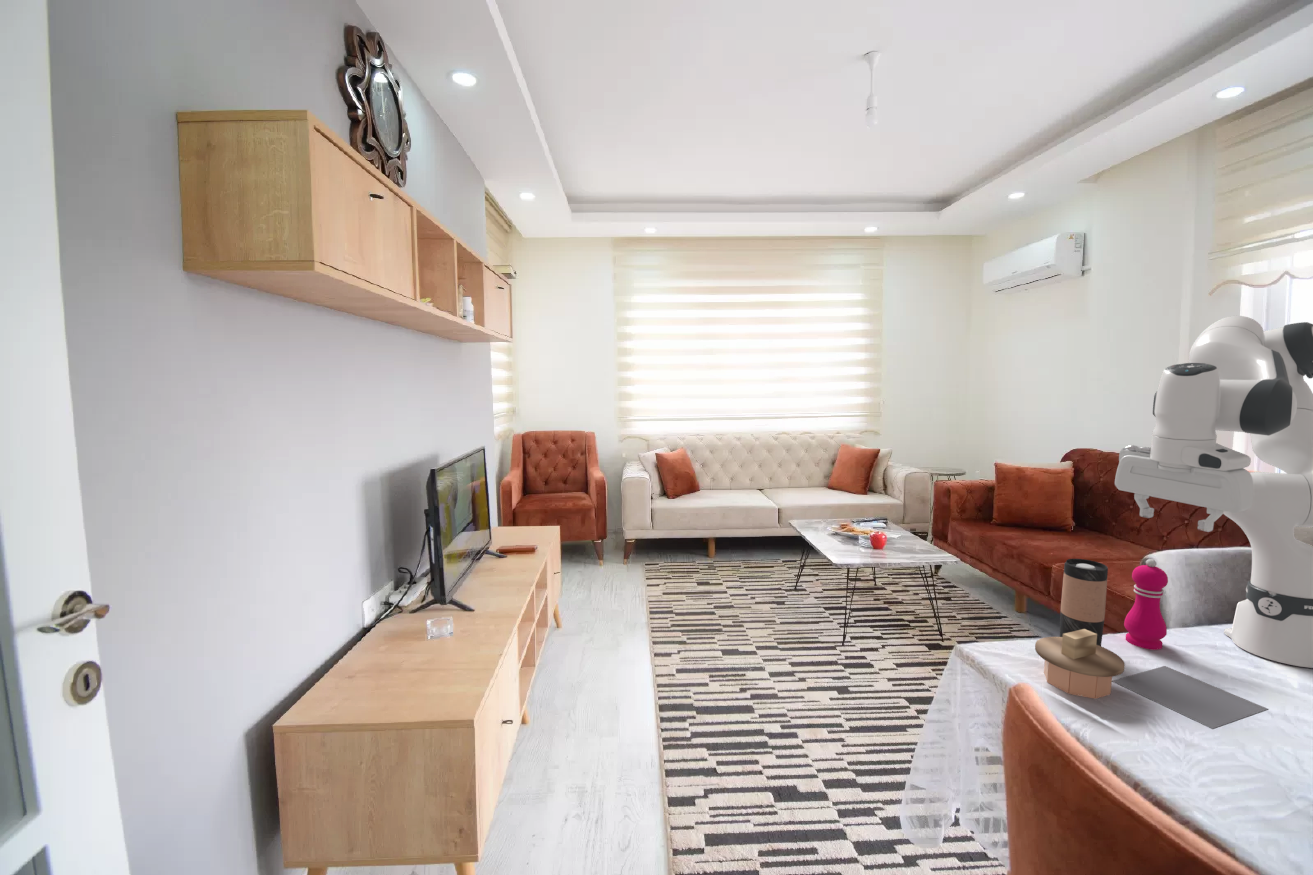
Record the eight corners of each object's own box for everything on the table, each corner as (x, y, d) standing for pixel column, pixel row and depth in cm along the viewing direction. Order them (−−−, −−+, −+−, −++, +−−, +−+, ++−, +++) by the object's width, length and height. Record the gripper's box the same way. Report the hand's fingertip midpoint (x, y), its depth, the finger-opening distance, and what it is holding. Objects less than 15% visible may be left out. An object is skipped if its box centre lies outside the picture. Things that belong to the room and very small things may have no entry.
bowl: (1068, 669, 119) (1070, 641, 118) (1120, 694, 109) (1123, 665, 109) (1032, 678, 115) (1034, 650, 115) (1084, 705, 106) (1086, 675, 105)
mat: (1164, 669, 118) (1164, 665, 118) (1267, 713, 103) (1268, 708, 103) (1111, 684, 113) (1111, 680, 113) (1211, 733, 98) (1212, 728, 98)
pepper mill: (1173, 655, 124) (1182, 565, 121) (1134, 652, 125) (1142, 564, 123) (1151, 639, 131) (1159, 554, 128) (1115, 637, 132) (1122, 553, 130)
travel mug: (1110, 661, 122) (1118, 570, 119) (1074, 661, 122) (1081, 570, 119) (1083, 643, 129) (1090, 558, 127) (1049, 644, 129) (1055, 558, 127)
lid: (1067, 635, 120) (1069, 613, 120) (1142, 668, 107) (1144, 644, 107) (1018, 647, 116) (1019, 624, 115) (1090, 682, 103) (1092, 657, 102)
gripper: (1110, 445, 115) (1104, 511, 118) (1241, 463, 96) (1231, 542, 98) (1131, 442, 117) (1125, 507, 120) (1263, 459, 98) (1253, 536, 101)
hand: (1174, 523), depth 109 cm, fingers open, 8 cm apart
